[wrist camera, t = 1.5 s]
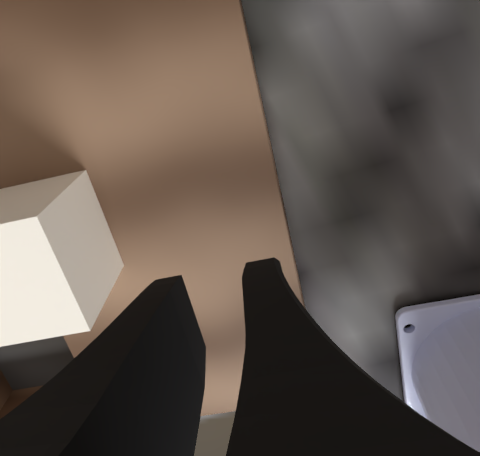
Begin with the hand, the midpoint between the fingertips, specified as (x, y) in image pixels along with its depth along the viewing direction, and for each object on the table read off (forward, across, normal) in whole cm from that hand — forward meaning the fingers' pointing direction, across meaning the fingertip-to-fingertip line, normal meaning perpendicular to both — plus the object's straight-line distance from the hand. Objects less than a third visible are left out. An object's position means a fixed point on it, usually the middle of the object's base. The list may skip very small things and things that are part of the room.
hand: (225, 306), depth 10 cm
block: (+7, +7, 0) cm, 10 cm away
